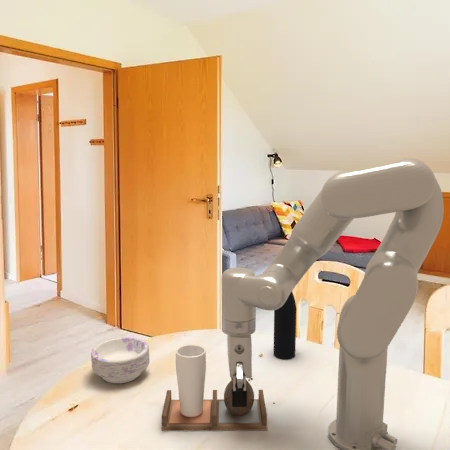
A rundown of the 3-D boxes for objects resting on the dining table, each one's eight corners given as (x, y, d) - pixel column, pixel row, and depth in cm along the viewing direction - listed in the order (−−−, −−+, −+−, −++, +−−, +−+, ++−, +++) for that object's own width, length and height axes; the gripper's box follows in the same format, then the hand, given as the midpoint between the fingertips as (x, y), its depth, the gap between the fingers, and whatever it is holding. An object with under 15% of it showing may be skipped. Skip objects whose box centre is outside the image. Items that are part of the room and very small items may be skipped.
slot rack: (262, 402, 118) (262, 389, 117) (266, 429, 107) (266, 415, 106) (167, 403, 118) (167, 390, 117) (161, 430, 107) (161, 416, 106)
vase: (245, 400, 117) (245, 366, 115) (259, 415, 110) (259, 379, 109) (219, 407, 114) (218, 372, 112) (231, 422, 108) (231, 386, 106)
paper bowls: (80, 381, 129) (78, 353, 127) (118, 358, 142) (117, 332, 140) (125, 395, 122) (124, 365, 120) (161, 370, 135) (160, 343, 133)
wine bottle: (270, 351, 146) (271, 254, 140) (289, 348, 148) (291, 252, 142) (278, 360, 140) (280, 259, 134) (299, 357, 142) (301, 257, 136)
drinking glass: (207, 404, 115) (207, 344, 112) (204, 420, 108) (204, 357, 106) (179, 403, 115) (178, 343, 113) (174, 419, 109) (173, 356, 106)
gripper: (258, 339, 100) (257, 415, 103) (253, 310, 117) (252, 376, 120) (221, 339, 100) (222, 416, 103) (221, 310, 117) (222, 376, 120)
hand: (238, 394), depth 111 cm, fingers open, 9 cm apart
